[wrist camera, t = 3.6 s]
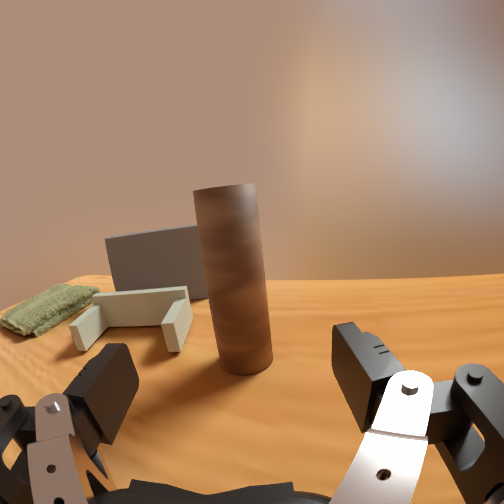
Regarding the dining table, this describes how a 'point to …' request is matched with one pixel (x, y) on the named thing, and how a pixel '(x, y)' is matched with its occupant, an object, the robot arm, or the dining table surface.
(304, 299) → the dining table surface
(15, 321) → the washcloth
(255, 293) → the dowel
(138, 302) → the bracket
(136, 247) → the wall
